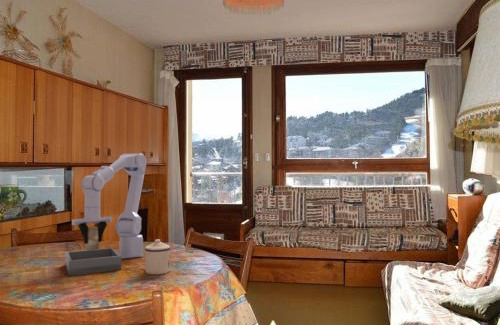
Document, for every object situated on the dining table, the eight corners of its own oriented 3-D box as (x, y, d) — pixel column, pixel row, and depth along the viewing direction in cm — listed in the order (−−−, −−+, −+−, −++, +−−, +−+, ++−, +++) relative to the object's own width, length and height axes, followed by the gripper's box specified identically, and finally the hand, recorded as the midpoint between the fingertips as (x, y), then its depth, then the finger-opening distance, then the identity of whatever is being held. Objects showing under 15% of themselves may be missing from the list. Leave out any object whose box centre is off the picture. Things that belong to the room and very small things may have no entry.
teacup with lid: (174, 272, 152) (174, 240, 152) (150, 276, 146) (150, 242, 147) (161, 266, 161) (161, 235, 162) (138, 269, 156) (138, 238, 156)
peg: (96, 247, 163) (96, 226, 163) (100, 248, 160) (100, 227, 160) (84, 248, 160) (84, 227, 161) (88, 250, 157) (88, 228, 157)
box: (113, 259, 172) (113, 247, 172) (121, 269, 156) (121, 256, 156) (65, 264, 164) (65, 252, 164) (68, 275, 148) (68, 261, 148)
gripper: (108, 204, 168) (108, 238, 167) (69, 207, 159) (69, 243, 159) (114, 206, 162) (114, 241, 162) (74, 208, 153) (74, 245, 153)
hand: (92, 242), depth 160 cm, fingers closed on peg, 4 cm apart
